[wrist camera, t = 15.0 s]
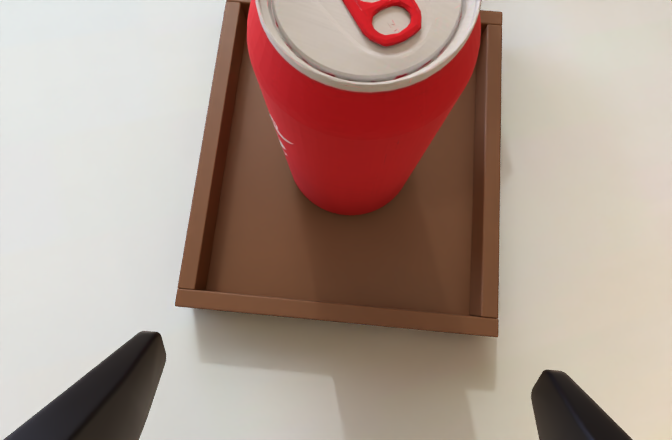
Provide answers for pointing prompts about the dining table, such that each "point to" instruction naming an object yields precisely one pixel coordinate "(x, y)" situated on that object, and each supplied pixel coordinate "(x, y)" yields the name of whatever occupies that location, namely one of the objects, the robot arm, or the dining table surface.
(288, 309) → the tray
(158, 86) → the dining table surface
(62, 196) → the dining table surface
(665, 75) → the dining table surface
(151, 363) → the robot arm
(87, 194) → the dining table surface
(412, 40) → the beverage can
